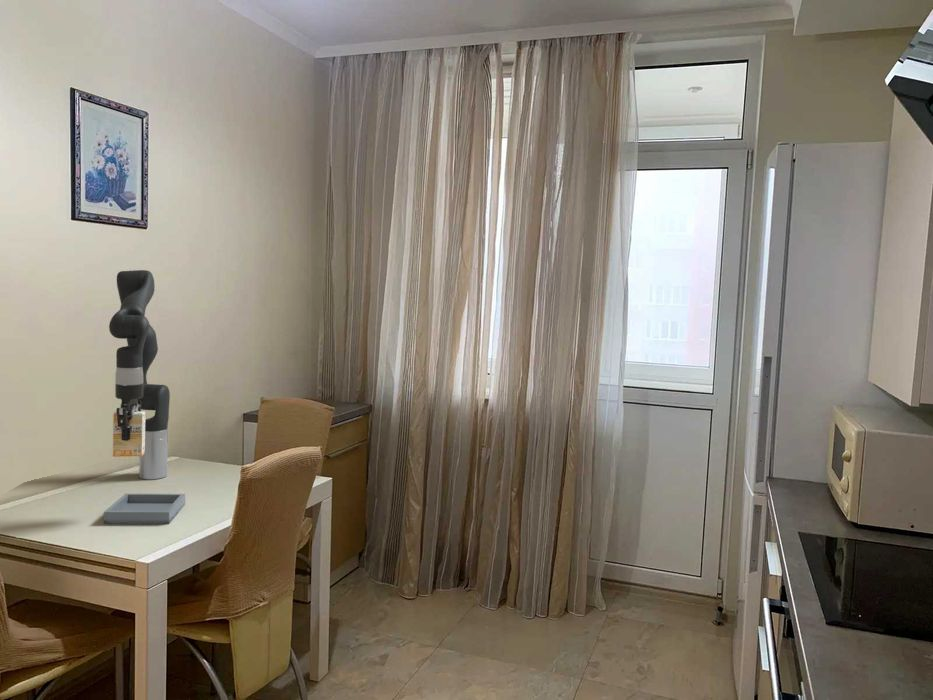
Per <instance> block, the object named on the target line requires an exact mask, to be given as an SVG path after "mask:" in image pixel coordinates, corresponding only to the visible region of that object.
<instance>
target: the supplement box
mask: <svg viewBox="0 0 933 700" xmlns="http://www.w3.org/2000/svg"><path fill="white" fill-rule="evenodd" d="M112 416H113V417H112V419H113V420H112V421H113V422H112V423H113V424H112V457H114V458H116V457H118V458H119V457H139V456H142V455H143V454H144V453H145V419H146V411H141V412H134V414H133V420H132V421H131V424H130V440H128V441H123V440H122V428H120V427H118V421H117V411H115V412H114V413H113V415H112ZM127 417H130V416H127ZM124 423H125V421H124Z"/></svg>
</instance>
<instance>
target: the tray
mask: <svg viewBox="0 0 933 700" xmlns="http://www.w3.org/2000/svg"><path fill="white" fill-rule="evenodd" d="M185 505H186V493H133V492H132V493H129V492H128V493H124V494H123V495H122V496H121V497H120V498H118V499H117V500H116V501H115V502H114V503H112V504H111V506H109V507H108V508H107V509H105V511H103V524H104V525H165V524H166V525H170V524H171V523H172V521H173V520H174V519H175V517H176V516H177V515H178V514H179V513H180V511H181V510H183V508H184V507H185Z"/></svg>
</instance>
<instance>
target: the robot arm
mask: <svg viewBox="0 0 933 700" xmlns="http://www.w3.org/2000/svg"><path fill="white" fill-rule="evenodd" d="M116 287H117V292H118V297H119V301H120V308H119V310H118V311H117V312H115V313H114V314H113V316H112V317H111V319H110V320H109V321H110V322H109V324H108V325H109V326H108V328H109V333H110V334H111V335H112V336H113V338H115V339H121V340H122V339H123V340H124V339H125V340H126V342H127V345H126V346H120V347H118V348H116V349H117V350H116V354H115V355H116V360H115V361H116V369H115V370H116V371H115V374H114V375H115V384H114V385H115V388H114V389H115V391H114V392H115V398H116V399H118V400H121V402H120V403H121V404H120V406H119V407H117V408H116V411H117V421H118V427H120V428H122V440H123V441H128V440H130V424H131V421H132V420H133V414H134V412H142V410H143V411H154V415H153V416H151V417H150V418H149V417H148V418H145V453H144V454H143V455H142V456H138V458H139V459H138V461H139V463H138V465H139V466H138V467H139V468H138V471H139V472H138V473H139V474H138V476H139V478H140V479H143V480H158V479H163V478H165V477H167V476H168V428H169V427H168V425H169V416H170V415H169V414H170V413H169V412H170V399H171V394H170V393H171V392H170V389H169V387H168V386H167V385H166V384H155V383H153V384H152V383H148V382H147V373H148V371H149V369H150V368H151V365H152V363H153V362H154V360H155V358H156V356H157V354H158V350H159V347H158V341H157V340H158V339H157V333H156V330H155V329H154V328H153V326H151V324H150V322H149V320H148V317H146V316H145V315H146V310H147V306H148V304H149V303H150V301H151V300H152V298H153V296H154V294H155V279H154V276H153V273H152V272H151V271H150V270H145V269H142V270H141V269H139V270H138V269H137V270H135V269H134V270H120V271H119V272H118V273H117V275H116ZM116 411H115V412H116ZM127 416H130V417H127ZM124 421H125V423H124Z"/></svg>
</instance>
